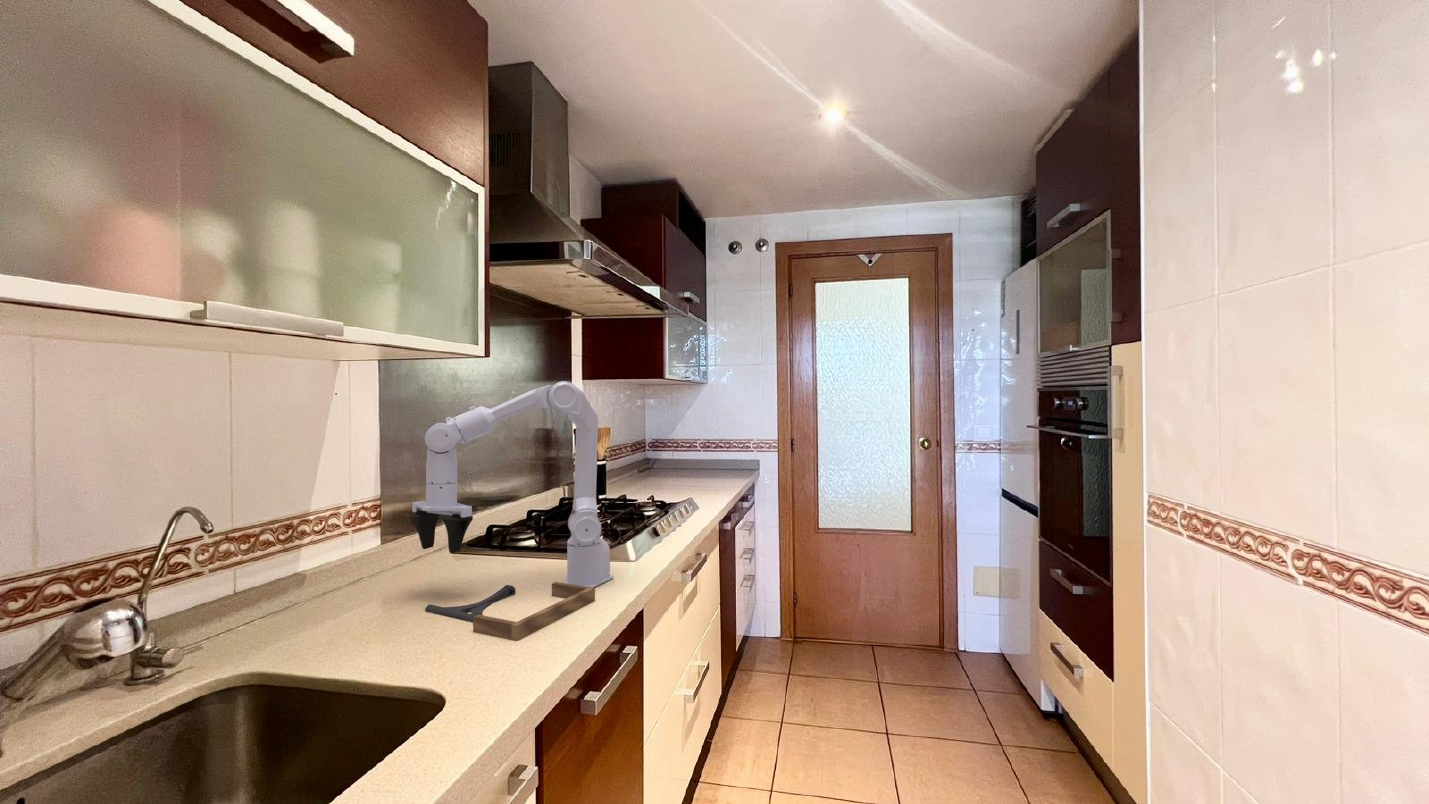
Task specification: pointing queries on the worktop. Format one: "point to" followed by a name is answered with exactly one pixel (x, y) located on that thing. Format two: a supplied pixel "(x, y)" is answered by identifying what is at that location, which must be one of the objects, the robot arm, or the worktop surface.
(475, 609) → the bracket
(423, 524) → the robot arm
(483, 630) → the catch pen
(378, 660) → the worktop surface
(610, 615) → the worktop surface
